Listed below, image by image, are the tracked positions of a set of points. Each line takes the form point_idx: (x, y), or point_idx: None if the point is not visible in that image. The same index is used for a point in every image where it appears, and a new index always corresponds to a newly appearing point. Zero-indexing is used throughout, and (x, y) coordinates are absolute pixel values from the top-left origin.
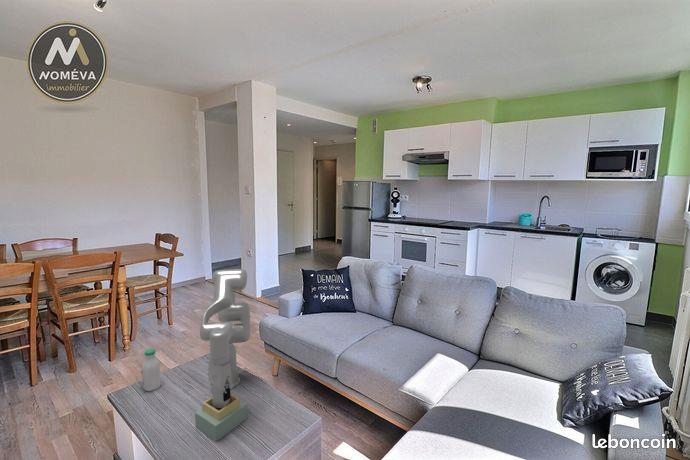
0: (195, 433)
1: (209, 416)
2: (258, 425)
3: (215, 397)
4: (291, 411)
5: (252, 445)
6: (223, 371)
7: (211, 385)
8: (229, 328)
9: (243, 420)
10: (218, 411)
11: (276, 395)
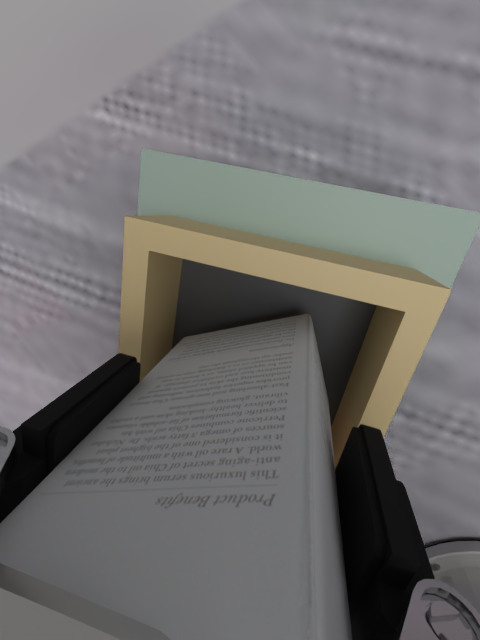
0: (381, 162)
1: (284, 226)
2: (91, 351)
3: (258, 374)
4: None
5: (22, 231)
6: None
7: (441, 587)
8: None
9: None
10: (144, 238)
11: None
